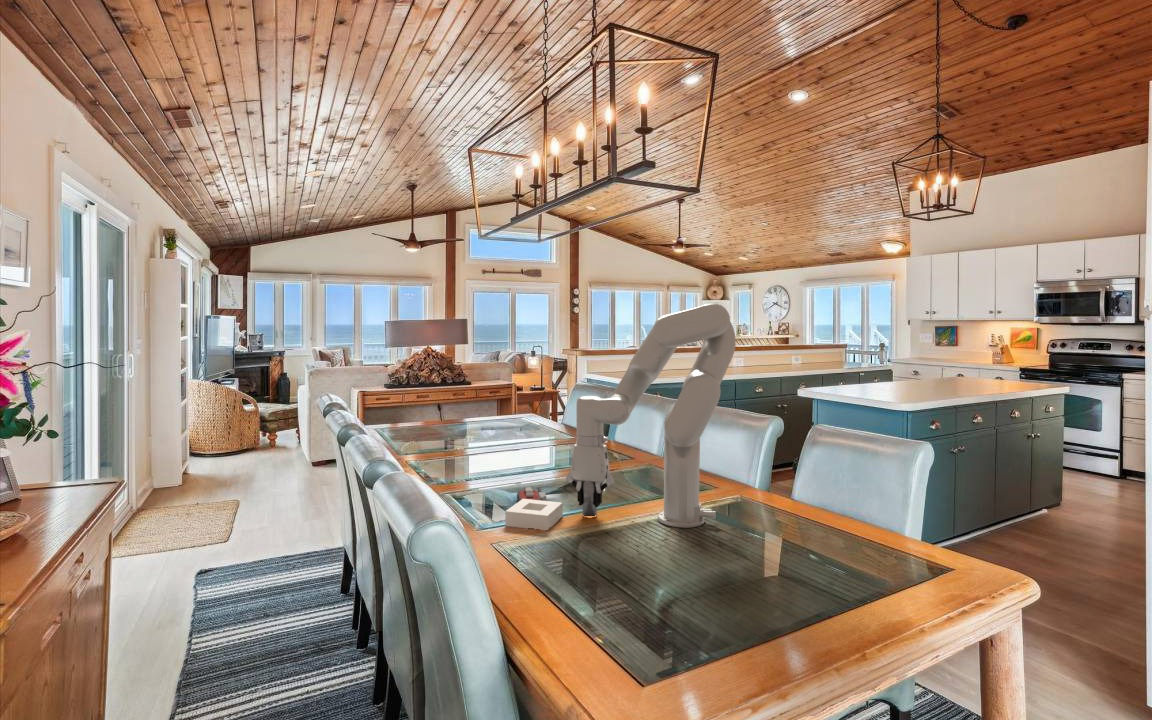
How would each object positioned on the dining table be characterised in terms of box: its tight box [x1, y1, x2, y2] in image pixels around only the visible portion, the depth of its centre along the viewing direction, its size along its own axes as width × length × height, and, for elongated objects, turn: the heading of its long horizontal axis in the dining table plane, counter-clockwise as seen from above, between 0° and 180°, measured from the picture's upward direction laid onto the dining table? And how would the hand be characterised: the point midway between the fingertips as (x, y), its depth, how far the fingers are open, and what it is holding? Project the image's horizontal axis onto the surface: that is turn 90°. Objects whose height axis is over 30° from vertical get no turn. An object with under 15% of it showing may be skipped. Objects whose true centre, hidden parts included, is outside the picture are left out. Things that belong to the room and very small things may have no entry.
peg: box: [582, 481, 598, 516], centre depth 168 cm, size 4×4×12 cm
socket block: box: [504, 499, 564, 531], centre depth 163 cm, size 12×12×4 cm
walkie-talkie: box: [516, 486, 547, 503], centre depth 182 cm, size 9×4×20 cm
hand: (589, 504), depth 168 cm, fingers closed on peg, 4 cm apart
